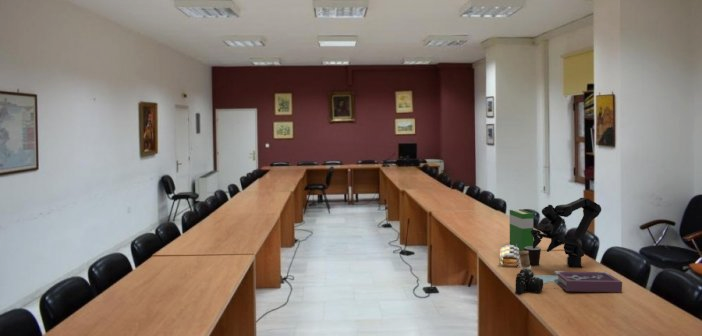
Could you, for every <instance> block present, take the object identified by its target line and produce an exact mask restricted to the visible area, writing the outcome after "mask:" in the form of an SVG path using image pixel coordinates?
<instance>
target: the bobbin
mask: <svg viewBox="0 0 702 336" xmlns="http://www.w3.org/2000/svg"><path fill="white" fill-rule="evenodd" d="M528 254H529V251H519V262H520V265H521V266H520V268H521V269H523V268H524V269H530V270H531V271H532V266H531V265H530V261H529V255H528ZM521 269H520V270H521ZM532 272H533V276H534V275H535V272H534V271H532Z"/></svg>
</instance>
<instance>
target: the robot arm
mask: <svg viewBox="0 0 702 336" xmlns="http://www.w3.org/2000/svg"><path fill="white" fill-rule="evenodd" d="M581 208H582V212H583V213H582V214H583V215H582V216H583V217H582V218H581V219H580V222H579V224H578V226H577V227H576V229H575V231H574V233H573V235H572V236H571V237H569V236H568V237H566V239H565V237H564V236H563V235H562V234H558V233H559V232H560V230H559V229H560V228H561V225H562V224H564V225H566V220H565V218H568V217H570V216H571V215H572V214H573V212H575V211H576V210H579V209H581ZM601 212H602V207H601V205H600V204H599V203H597V202H595V201H593V200H591V199H590V198H588V197H579V198H578V199H576V200H574V201H572V202H570V203H567V204H558V205H556V206H555V207H554V206H553V204H548V205H547V206H545V207H543V208H542V209H541V213H542V215H543V216H544V217H545V219H546V220H547V221H549V222H548V223H541V222H538V225H537V229H535V228H533V230H532V231H531V234H532V236H533V249H534V248H535V247H538V245H539V244H540V243H541V242H542V239H543V238H544V239H545V238H546V239H549V240H550V239H551V241H550V244H549V245H548V246H547V248H546V252H547V253H549V252H551V251H552V250H555V248H558V247H559V246H562V245H563V250H564V254H565V255H567V257H566V265H567V266H568V268H581V269H582V268H583V266H582V258H583V257H585V251H584V250H583V243H582V241H583V239H584V237H585V235H586V233H587V231H588V229H589V227H590V226H591V224H592V221H593V220H595V219H596V218H597V217H598V216H599V215H600V214H601ZM540 230H541V231H540Z"/></svg>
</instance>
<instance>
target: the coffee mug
mask: <svg viewBox="0 0 702 336" xmlns="http://www.w3.org/2000/svg"><path fill="white" fill-rule="evenodd" d="M524 251H529V254H528V255H529V261H530V265H531V267H538V266H539V265H540V258H541V251H542V247H540V246H536V247H535V248H534V249H533V246H527V247H525V249H524Z"/></svg>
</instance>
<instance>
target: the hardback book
mask: <svg viewBox="0 0 702 336" xmlns="http://www.w3.org/2000/svg"><path fill="white" fill-rule="evenodd" d="M533 229H534V213H533V212H529V211H527V210H524V209H518V210H514V209H509V245H514V246H515V247H516V245H517V247H518V248H519V252H520V251H524V249H525V247H527V246H533V241H534V237H533V236H532V234H531V231H532V230H533Z"/></svg>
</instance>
